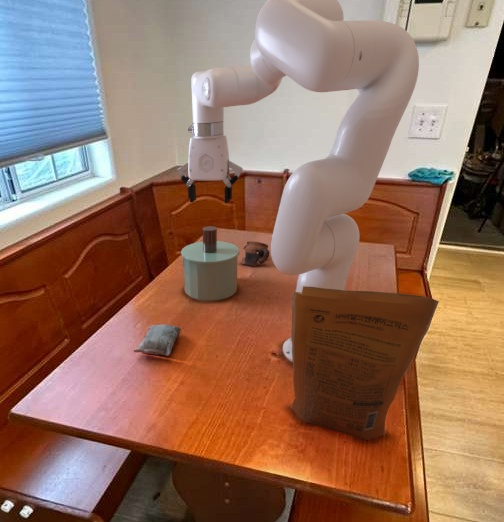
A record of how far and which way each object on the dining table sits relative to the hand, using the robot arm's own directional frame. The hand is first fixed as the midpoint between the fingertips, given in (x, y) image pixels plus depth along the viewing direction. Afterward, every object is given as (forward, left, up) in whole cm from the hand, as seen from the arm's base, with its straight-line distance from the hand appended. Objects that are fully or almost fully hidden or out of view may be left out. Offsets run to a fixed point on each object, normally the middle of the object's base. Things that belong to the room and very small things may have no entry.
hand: (210, 201), depth 108 cm
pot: (0, 0, -27) cm, 27 cm away
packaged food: (-33, +4, -27) cm, 43 cm away
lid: (0, 0, -15) cm, 15 cm away
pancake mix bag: (-48, -37, -27) cm, 67 cm away
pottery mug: (+25, -9, -27) cm, 37 cm away
